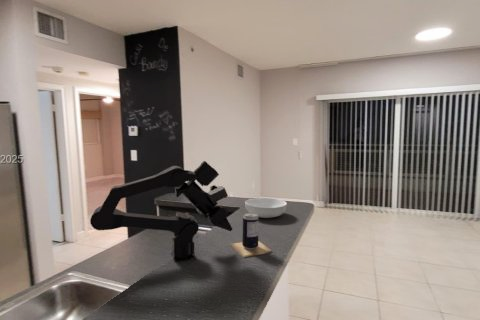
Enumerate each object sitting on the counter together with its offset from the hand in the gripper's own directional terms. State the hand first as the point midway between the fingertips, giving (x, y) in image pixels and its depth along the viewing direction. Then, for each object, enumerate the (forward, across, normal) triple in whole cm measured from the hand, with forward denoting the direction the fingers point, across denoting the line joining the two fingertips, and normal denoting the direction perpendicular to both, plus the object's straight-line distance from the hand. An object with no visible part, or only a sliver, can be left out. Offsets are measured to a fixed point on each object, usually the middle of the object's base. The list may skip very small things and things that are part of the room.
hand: (226, 226), depth 102 cm
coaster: (+12, -1, 0) cm, 13 cm away
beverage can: (+12, -1, -1) cm, 12 cm away
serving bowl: (+28, +34, -19) cm, 48 cm away
